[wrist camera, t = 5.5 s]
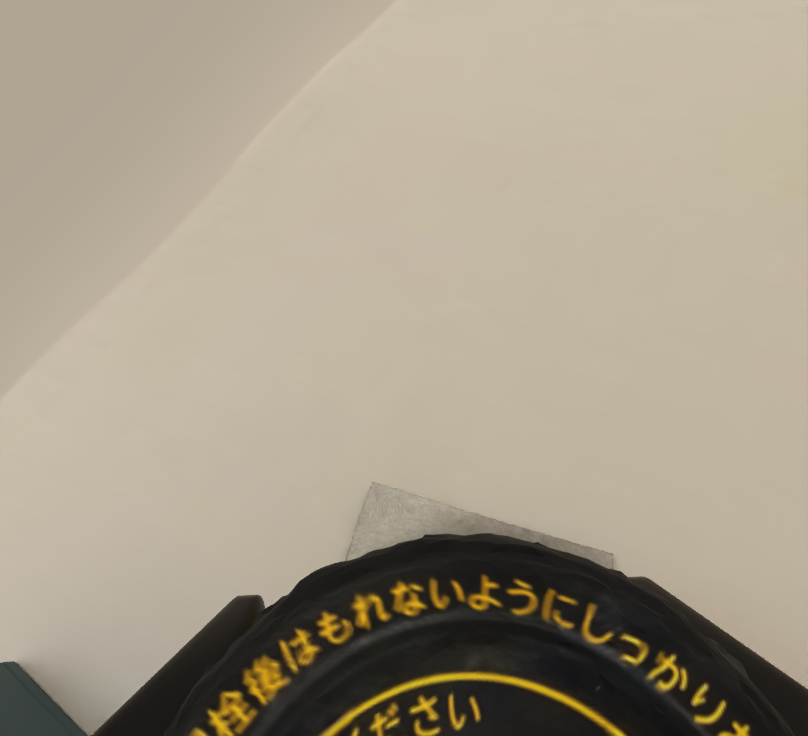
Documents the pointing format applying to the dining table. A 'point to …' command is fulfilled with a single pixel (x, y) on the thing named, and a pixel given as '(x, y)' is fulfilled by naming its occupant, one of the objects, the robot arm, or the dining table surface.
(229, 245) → the dining table surface
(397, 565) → the condiment
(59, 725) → the tote
